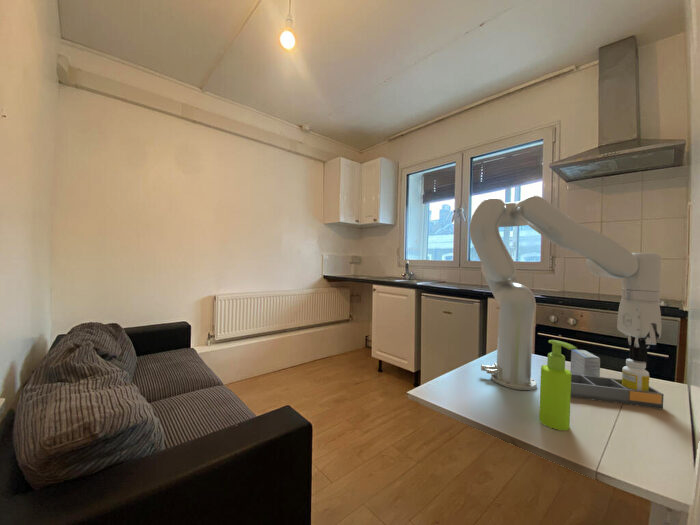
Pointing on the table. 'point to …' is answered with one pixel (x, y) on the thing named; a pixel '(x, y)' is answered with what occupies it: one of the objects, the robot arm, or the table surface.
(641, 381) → the supplement bottle
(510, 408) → the table surface
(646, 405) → the rack
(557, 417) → the soap dispenser
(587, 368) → the medicine box
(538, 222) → the robot arm
